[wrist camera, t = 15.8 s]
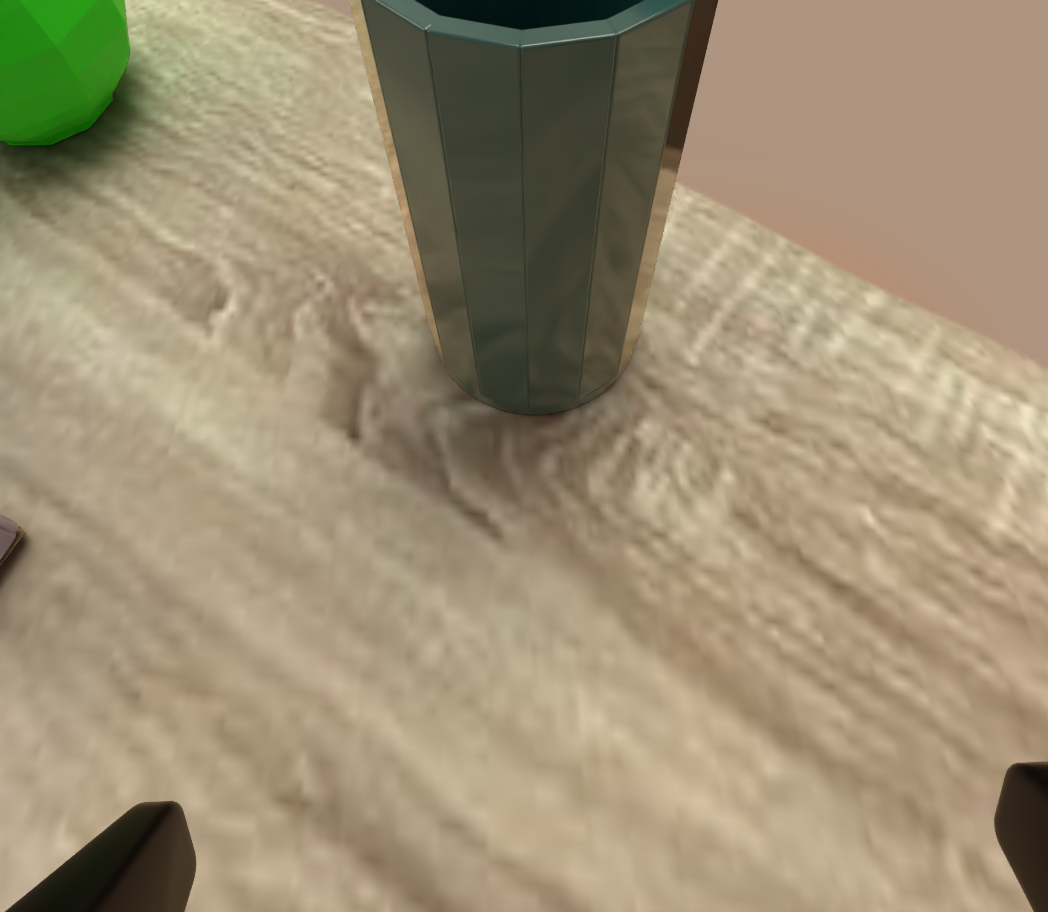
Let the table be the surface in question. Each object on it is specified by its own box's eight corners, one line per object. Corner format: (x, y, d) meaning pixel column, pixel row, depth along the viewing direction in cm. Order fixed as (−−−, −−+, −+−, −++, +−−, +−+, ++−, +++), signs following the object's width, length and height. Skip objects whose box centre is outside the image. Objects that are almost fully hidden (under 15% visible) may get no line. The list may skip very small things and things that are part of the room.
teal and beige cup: (477, 447, 22) (410, 96, 10) (407, 281, 24) (293, -144, 13) (672, 374, 23) (808, -22, 11) (584, 222, 25) (623, -224, 14)
